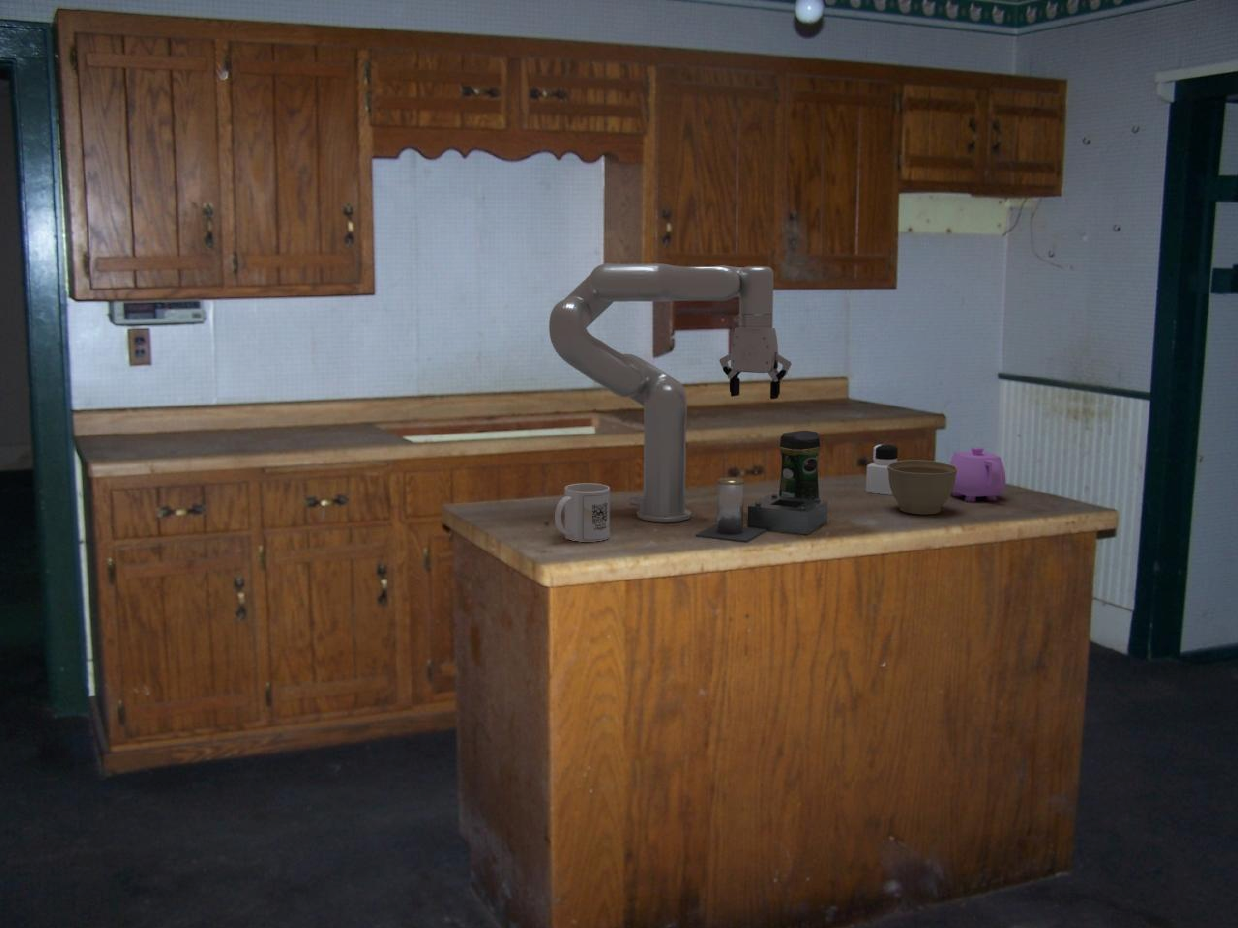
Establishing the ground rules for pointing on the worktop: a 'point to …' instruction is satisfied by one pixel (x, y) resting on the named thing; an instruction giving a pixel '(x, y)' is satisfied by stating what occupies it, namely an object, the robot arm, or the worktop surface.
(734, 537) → the rubber mat
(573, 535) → the mug
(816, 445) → the coffee jar
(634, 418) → the worktop surface
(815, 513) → the housing
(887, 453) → the medicine bottle
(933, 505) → the planter bowl
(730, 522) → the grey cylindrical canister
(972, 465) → the teapot
